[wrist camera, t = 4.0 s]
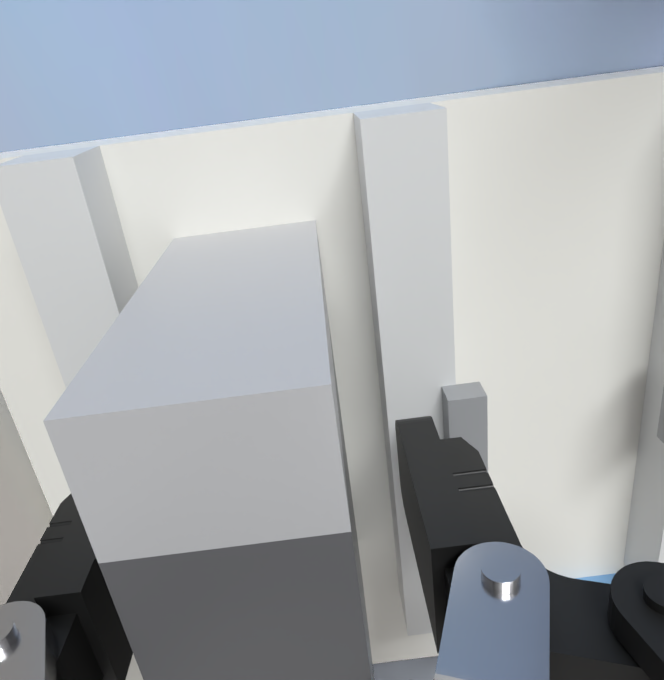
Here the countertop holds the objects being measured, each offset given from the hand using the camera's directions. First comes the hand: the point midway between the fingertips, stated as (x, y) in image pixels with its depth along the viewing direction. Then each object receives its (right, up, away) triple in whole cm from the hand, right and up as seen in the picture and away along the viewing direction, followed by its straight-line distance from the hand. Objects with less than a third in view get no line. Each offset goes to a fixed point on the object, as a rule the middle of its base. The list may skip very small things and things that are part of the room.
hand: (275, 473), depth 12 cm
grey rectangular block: (0, +1, +2) cm, 2 cm away
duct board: (+3, +1, +4) cm, 5 cm away
